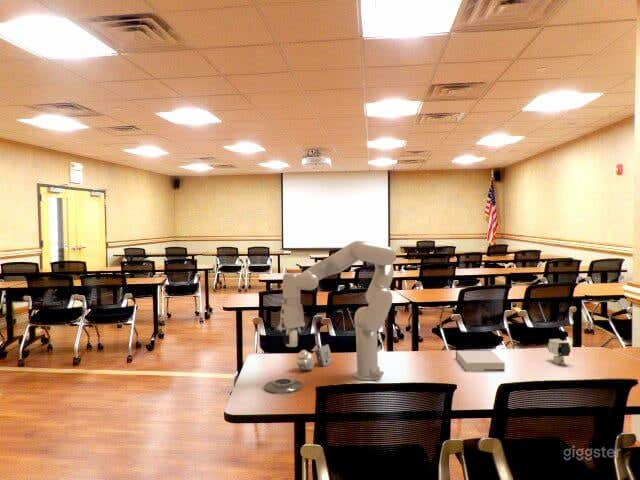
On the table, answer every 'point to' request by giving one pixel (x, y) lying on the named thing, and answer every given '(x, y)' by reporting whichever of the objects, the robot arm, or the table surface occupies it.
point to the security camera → (558, 349)
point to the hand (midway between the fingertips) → (291, 342)
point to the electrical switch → (324, 356)
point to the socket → (283, 386)
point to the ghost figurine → (305, 360)
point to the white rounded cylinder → (292, 337)
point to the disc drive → (480, 361)
